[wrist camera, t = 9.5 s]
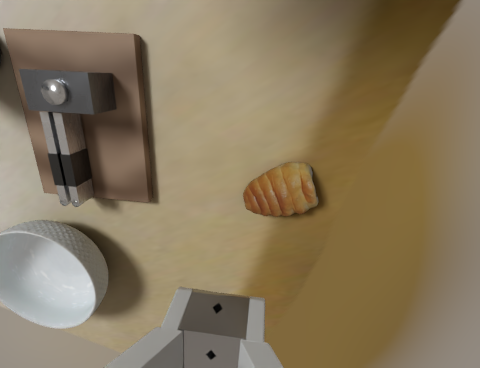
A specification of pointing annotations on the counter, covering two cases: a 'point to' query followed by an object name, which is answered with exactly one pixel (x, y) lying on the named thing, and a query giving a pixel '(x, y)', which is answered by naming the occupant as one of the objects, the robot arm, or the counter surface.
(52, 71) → the tong hinge
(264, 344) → the robot arm
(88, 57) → the walnut board
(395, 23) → the counter surface
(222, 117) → the counter surface
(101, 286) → the cereal bowl
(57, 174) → the fixed tong arm
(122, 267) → the counter surface
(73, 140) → the loose tong arm
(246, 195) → the pastry
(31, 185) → the counter surface
